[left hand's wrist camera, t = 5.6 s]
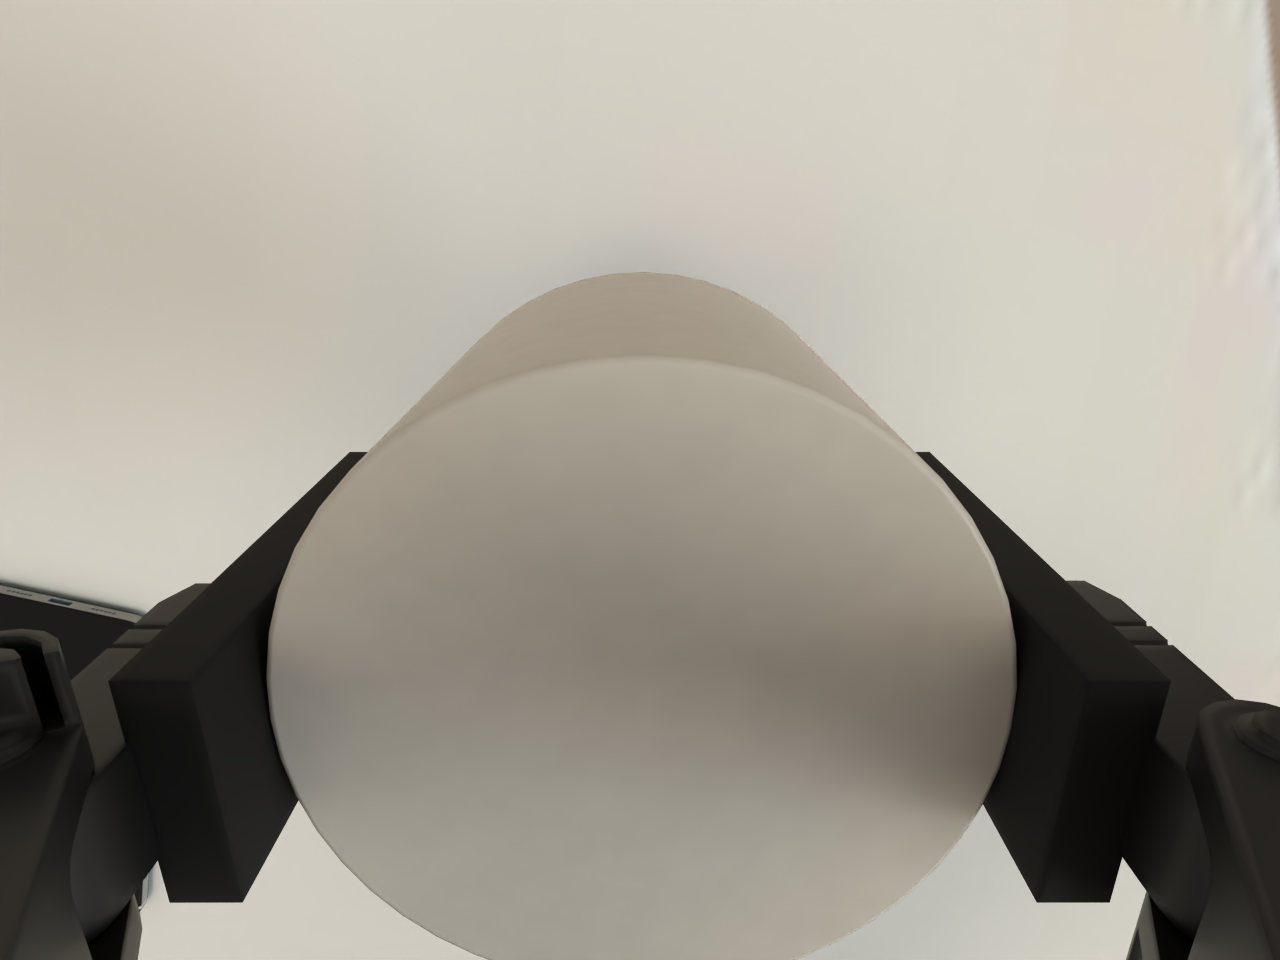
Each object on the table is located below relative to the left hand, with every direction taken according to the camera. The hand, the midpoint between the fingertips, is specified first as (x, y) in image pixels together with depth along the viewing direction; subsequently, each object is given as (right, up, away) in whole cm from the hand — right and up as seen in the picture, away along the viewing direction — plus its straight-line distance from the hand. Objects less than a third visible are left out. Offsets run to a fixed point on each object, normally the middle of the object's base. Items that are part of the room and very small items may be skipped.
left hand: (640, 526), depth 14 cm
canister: (0, +1, +2) cm, 2 cm away
